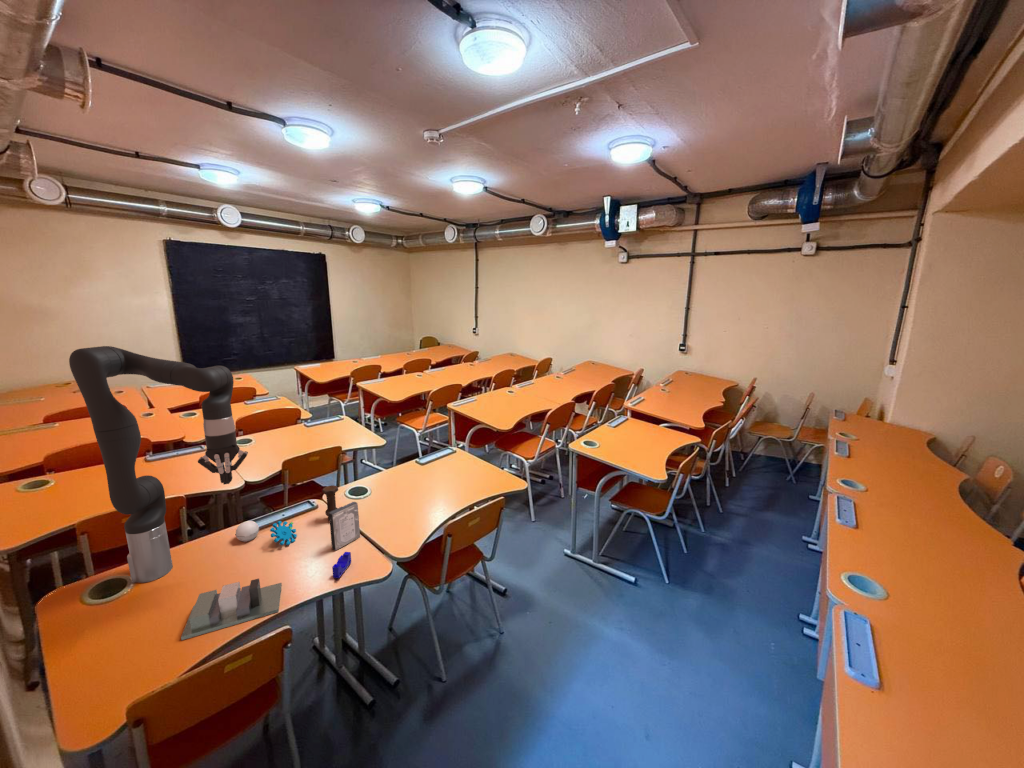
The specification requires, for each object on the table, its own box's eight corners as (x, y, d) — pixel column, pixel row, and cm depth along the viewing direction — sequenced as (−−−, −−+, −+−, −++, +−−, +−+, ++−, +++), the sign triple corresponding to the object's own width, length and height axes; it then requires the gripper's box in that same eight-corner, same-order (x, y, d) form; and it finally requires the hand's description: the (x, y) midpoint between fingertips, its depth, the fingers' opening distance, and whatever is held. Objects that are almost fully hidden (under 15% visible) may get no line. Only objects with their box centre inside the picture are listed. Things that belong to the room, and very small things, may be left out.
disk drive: (335, 551, 137) (332, 514, 134) (331, 548, 139) (328, 511, 136) (360, 537, 146) (358, 502, 143) (356, 535, 147) (354, 500, 144)
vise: (181, 640, 100) (178, 624, 99) (194, 608, 110) (191, 593, 109) (278, 612, 110) (276, 597, 109) (281, 585, 120) (280, 571, 119)
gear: (287, 548, 137) (266, 530, 135) (276, 558, 138) (256, 539, 136) (304, 530, 148) (285, 513, 146) (294, 539, 148) (275, 522, 147)
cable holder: (341, 561, 132) (341, 551, 131) (351, 562, 132) (350, 552, 131) (328, 577, 124) (327, 566, 124) (338, 578, 124) (338, 567, 123)
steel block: (221, 618, 106) (218, 599, 105) (225, 603, 111) (222, 585, 110) (238, 613, 108) (235, 595, 106) (241, 599, 113) (239, 581, 112)
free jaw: (237, 618, 106) (234, 599, 105) (243, 594, 115) (240, 577, 113) (258, 612, 108) (255, 593, 107) (262, 589, 117) (260, 572, 116)
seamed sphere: (232, 541, 142) (230, 523, 140) (254, 531, 148) (252, 514, 147) (245, 550, 137) (243, 532, 135) (267, 540, 143) (265, 522, 141)
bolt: (342, 521, 156) (339, 488, 153) (330, 526, 152) (327, 492, 149) (335, 516, 160) (332, 483, 157) (323, 521, 156) (320, 488, 153)
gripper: (189, 437, 110) (197, 492, 113) (243, 431, 116) (250, 484, 119) (196, 430, 116) (203, 482, 120) (247, 425, 122) (253, 474, 126)
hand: (227, 483), depth 119 cm, fingers closed
